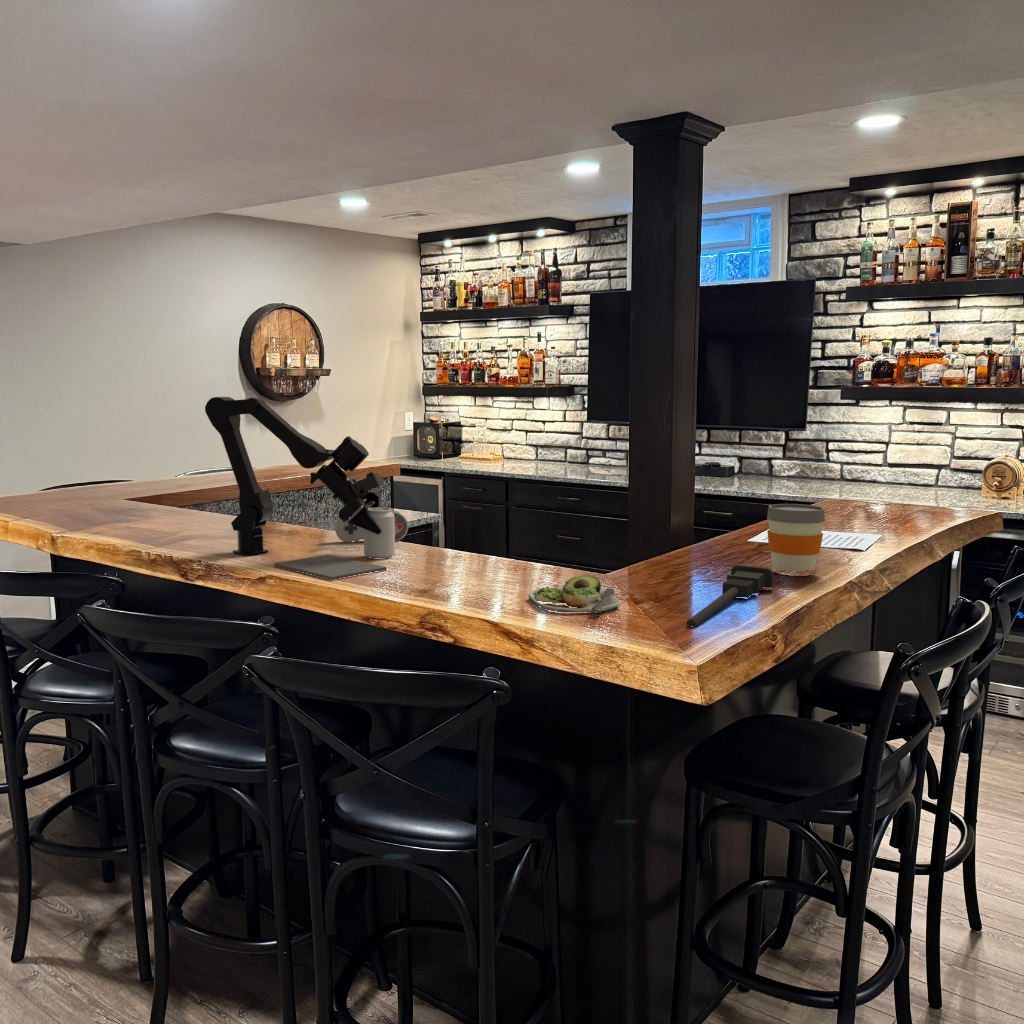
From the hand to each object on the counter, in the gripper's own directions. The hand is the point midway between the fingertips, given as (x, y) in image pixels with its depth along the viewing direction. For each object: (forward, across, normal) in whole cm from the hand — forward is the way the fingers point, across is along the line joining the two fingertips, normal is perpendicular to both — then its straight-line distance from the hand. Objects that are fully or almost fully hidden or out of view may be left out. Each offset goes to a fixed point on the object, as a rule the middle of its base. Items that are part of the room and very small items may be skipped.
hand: (384, 530), depth 218 cm
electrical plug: (+60, -36, -50) cm, 86 cm away
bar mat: (-2, -16, +11) cm, 19 cm away
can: (+4, 0, +6) cm, 7 cm away
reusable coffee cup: (+73, -4, -63) cm, 97 cm away
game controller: (-2, +22, +12) cm, 24 cm away
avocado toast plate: (+40, -40, -29) cm, 64 cm away
